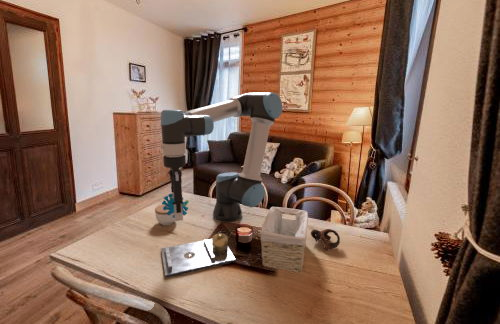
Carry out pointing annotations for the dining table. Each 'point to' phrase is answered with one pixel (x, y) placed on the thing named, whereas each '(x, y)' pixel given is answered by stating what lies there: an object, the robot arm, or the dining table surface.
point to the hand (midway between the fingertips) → (177, 214)
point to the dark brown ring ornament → (323, 236)
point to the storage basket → (284, 239)
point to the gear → (171, 207)
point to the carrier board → (196, 256)
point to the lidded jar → (163, 215)
